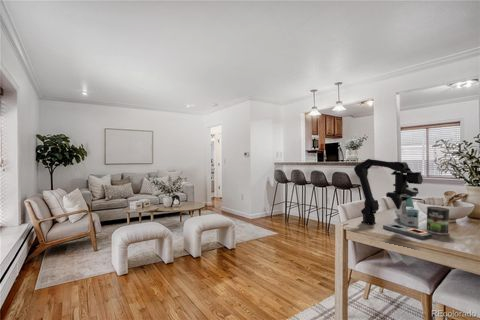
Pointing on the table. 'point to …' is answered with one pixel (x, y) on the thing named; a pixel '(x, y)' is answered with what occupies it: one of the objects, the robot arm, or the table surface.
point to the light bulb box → (410, 217)
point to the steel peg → (401, 208)
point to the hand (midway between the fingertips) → (400, 208)
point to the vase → (407, 205)
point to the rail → (408, 231)
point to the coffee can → (438, 220)
